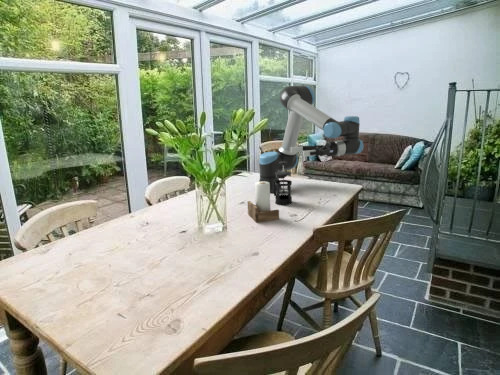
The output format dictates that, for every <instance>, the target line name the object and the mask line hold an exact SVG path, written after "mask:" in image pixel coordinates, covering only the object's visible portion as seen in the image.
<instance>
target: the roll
mask: <svg viewBox="0 0 500 375" xmlns="http://www.w3.org/2000/svg"><path fill="white" fill-rule="evenodd" d="M254 195H255V205H256V207H257V208H258V212H264V211H270V210H271V193H270V183H269V182H265V181H262V182H259V181H256V182H255V183H254Z"/></svg>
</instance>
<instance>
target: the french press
mask: <svg viewBox="0 0 500 375" xmlns="http://www.w3.org/2000/svg"><path fill="white" fill-rule="evenodd" d="M279 163H282V166H283V171H280V172H276V173H275V174H276V178H279V180H278V181H277V180H275V181H274V193H273V196H274V198H275V200H274V203H275V204H276V205H277V206H289V205H290V206H291V205H292V204H293V199H292V198H293V197H292V195H291V194H292V190H291V189H292V186H291V185H293V181H292V180H289V179H288V180H287V179H285V178H286V177H287V176H288V177H291V176H292V171H288V170H285V171H284V163H287V162H279ZM279 183H280V184H279ZM279 186H281V187H282V189H281V190H279ZM285 187H286V189H285ZM276 189H277V191H276Z"/></svg>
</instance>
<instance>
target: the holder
mask: <svg viewBox="0 0 500 375" xmlns="http://www.w3.org/2000/svg"><path fill="white" fill-rule="evenodd" d="M247 214H248V216H249V218H251V219H252V220H253V222H255V223H262V222H268V221H276V220H279V219H280V210H279V209H273V210H271V209H270V211H264V212H258V208H257V207H256V204H254V203H253V202H252V201H250V200H247Z"/></svg>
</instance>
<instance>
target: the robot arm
mask: <svg viewBox="0 0 500 375" xmlns="http://www.w3.org/2000/svg"><path fill="white" fill-rule="evenodd" d="M315 100H316V94H315V92H314V89H313V88H312V87H310V86H308V85H304V84H303V85H288V86H285V87H284V88H283V89H282V90H281V92H280V94H279V101H280V104H281V106H282V107H284V108H285V109H287V110H288V111H289V114H288V119H287V122H286V123H287V124H286V127H285V130H284V135H283V140H282V144H281V146H280V147H279V148H278V149H277V151H268V152H267V151H266V152H263V153H261V154H260V155H259V160H258V163H259V180H258V182H262V181H265V182H269V183H270V194H272V193H273V194H274V181H275V180H277V181H278V180H280V178H276V174H275V173H276V172H280V171H283V166H282V163H279V162H287V163H284V171H290V170H292V169H294V168H296V166H297V165H298V163H299V157H298V153H302V157H303V158H305V157H316V156H317V157H322V156H327V157H336V156H338V157H341V156H345V155H355V154H360V153H362V152H363V150H364V141H363V140H362V139H360V117H359V116H356V115H355V116H354V115H352V116H351V115H350V116H349V115H348V116H345V117H344V119H343V120H342V121H338V120H336V119H334V118H333V117H331V116H330V115H328V114H326V113H325V112H323V111H322V110H320V109H319V108H317V107H315V106H314V102H315ZM304 119H305V120H307V121H308V122H310V123H311V124H312V125H314V126H316V127H317V128H319V129H320V130H321V131H323V134H324V136H325V138H328V139H337V138H342V137H343V139H341V140H335V141H334V140H332V141H326V142H325V145H323V144H319V145H317V144H316V145H301V146H297V143H298V140H299V136H300V131H301V128H302V124H303V120H304ZM279 184H281V182H280V183H279ZM279 190H282V186H279ZM276 191H277V189H276Z"/></svg>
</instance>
